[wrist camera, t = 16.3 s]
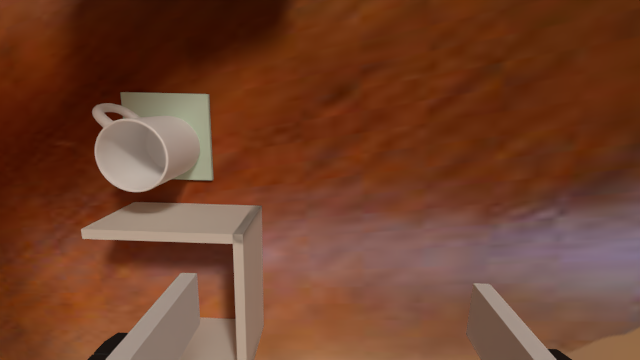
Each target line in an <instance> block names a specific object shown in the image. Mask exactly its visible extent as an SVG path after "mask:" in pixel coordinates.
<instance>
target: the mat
mask: <svg viewBox="0 0 640 360" xmlns="http://www.w3.org/2000/svg"><path fill="white" fill-rule="evenodd" d="M120 94H121V103H122V106H123V107H126V108H128V109H129V110H131V111H133V112H134V113H135V114H137V115H138V116H139V117H153V116H174V117H177V118H180V119H182V120H184V121H186V122H187V123H188V124H189V125H190V126H191V127H192V128H193V129H194V130H195V132H196V134H197V136H198V138H199V142H200V154H199V158H198V160H197V162H196V163H195V165H194V166H193V167H192V168H191V169H190V170H188V171H187V172H185V173H183V174H181V175H179V176H177V177H175V178H173V179H185V180H213V162H212V142H211V122H210V101H209V94H180V93H139V92H120ZM123 119H127V118H125V117H124V116H123Z"/></svg>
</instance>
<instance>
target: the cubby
mask: <svg viewBox="0 0 640 360" xmlns="http://www.w3.org/2000/svg"><path fill="white" fill-rule="evenodd" d="M81 233H82V239H104V240H133V241H162V242H191V243H220V244H233V261H234V288H235V314H236V319H223V318H200V325H199V327H198V328H197V330H196V332H195V334H194V335H193V337H192V339H191V340H190V342H189V344H188V346H187V347H186V349H185V351H184V352H183V354H182V356H181V357H180V359H179V360H254V358H255V354H256V351H257V347H258V344H259V341H260V337H261V334H262V330H263V327H264V320H263V258H262V206H250V205H218V204H187V203H155V202H133V203H131V204H129V205H127V206H125V207H124V208H122V209H120V210H118V211H116V212H114V213H112V214H110V215H108V216H106V217H104V218H102V219H100V220H98V221H96V222H94V223H92V224H90V225H88V226H86V227H84V228H82V229H81Z"/></svg>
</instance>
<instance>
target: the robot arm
mask: <svg viewBox="0 0 640 360" xmlns="http://www.w3.org/2000/svg"><path fill="white" fill-rule="evenodd" d="M199 325H200V313H199V298H198V282H197V273H180V275H179V276H178V277H177V278H176V279H175V280H174V282H173V283H172V284H171V285H170V286H169V287H168V288H167V290H166V291H165V292H164V293H163V294H162V295H161V296H160V298H159V299H158V300H157V301H156V302H155V303H154V304H153V306H152V307H151V308H150V309H149V310H148V311H147V312H146V314H145V315H144V316H143V317H142V318H141V319H140V321H139V322H138V323H137V324H136V325H135V326H134V327H133V329H132V330H131V331H130V332H129V333H117V334H115V335H114V336H112V337H111V338H109V339H108V340H106V341H105V342H104V343H103V344H102V345H101V346H100V347H99V348H98V349H97V350H96V351H95V352H94V355H91V356H90V358H89V359H88V360H179V359H180V357H181V356H182V354H183V352H184V351H185V349H186V347H187V346H188V344H189V342H190V340H191V339H192V337H193V335H194V334H195V332H196V330H197V328H198V327H199ZM466 335H467V337H468V338H469V340H470V342H471V343H472V345H473V347H474V349H475V350H476V352H477V354H478V355H479V357H480V359H481V360H572V359H570V358H569V357H567V356H566V355H564V354H563V353H561V352H560V351H559V350H557V349H547V348H546V347H545V346H544V345H543V344H542V343H541V341H540V340H539V339H538V338H537V337H536V336H535V335H534V334H533V332H532V331H531V330H530V329H529V328H528V327H527V326H526V324H525V323H524V322H523V321H522V320H521V319H520V318H519V317H518V315H517V314H516V313H515V312H514V311H513V310H512V309H511V307H510V306H509V305H508V304H507V303H506V302H505V301H504V300H503V298H502V297H501V296H500V295H499V294H498V293H497V292H496V290H495V289H494V288H493V287H492V286H491V285H490V284H476V283H473V289H472V296H471V303H470V310H469V317H468V324H467V331H466Z"/></svg>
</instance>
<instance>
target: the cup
mask: <svg viewBox="0 0 640 360" xmlns="http://www.w3.org/2000/svg"><path fill="white" fill-rule="evenodd" d="M105 112H115V113H118V114H120V115H122V116H124V117H125V118H127V119H119V120H116V121H113V120H111V119H110V118H109V117H108V116H107V115H105V114H104V113H105ZM92 115H93V117H94V119H95V120H96V121H97V122H98V123H99V124H100V125H101V126H102V127H103V129H102V130H101V132H100V133H99V135H98V137H97V139H96V143H95V159H96V163H97V165H98V168H99V170H100V171H101V173H102V174H103V176H104V177H105V178H106V179H107V180H108V181H109V182H110V183H111V184H113V185H114V186H116V187H118V188H120V189H122V190H125V191H129V192H144V191H148V190H150V189H152V188H154V187H156V186H158V185H161V184H163V183H165V182H167V181H169V180H171V179H173V178H175V177H177V176H179V175H181V174H183V173H185V172H187V171H188V170H190V169H191V168H192V167H193V166H194V165H195V163H196V162H197V160H198V158H199V154H200V142H199V138H198V136H197V134H196V132H195V130H194V129H193V128H192V127H191V126H190V125H189V124H188V123H187V122H186V121H184V120H182V119H180V118H177V117H174V116H153V117H139V116H138V115H137V114H135V113H134V112H133V111H131V110H129V109H128V108H126V107H123V106H121V105H117V104H113V103H103V104H99V105H96V106H95V107H94V108H93V110H92Z"/></svg>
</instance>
